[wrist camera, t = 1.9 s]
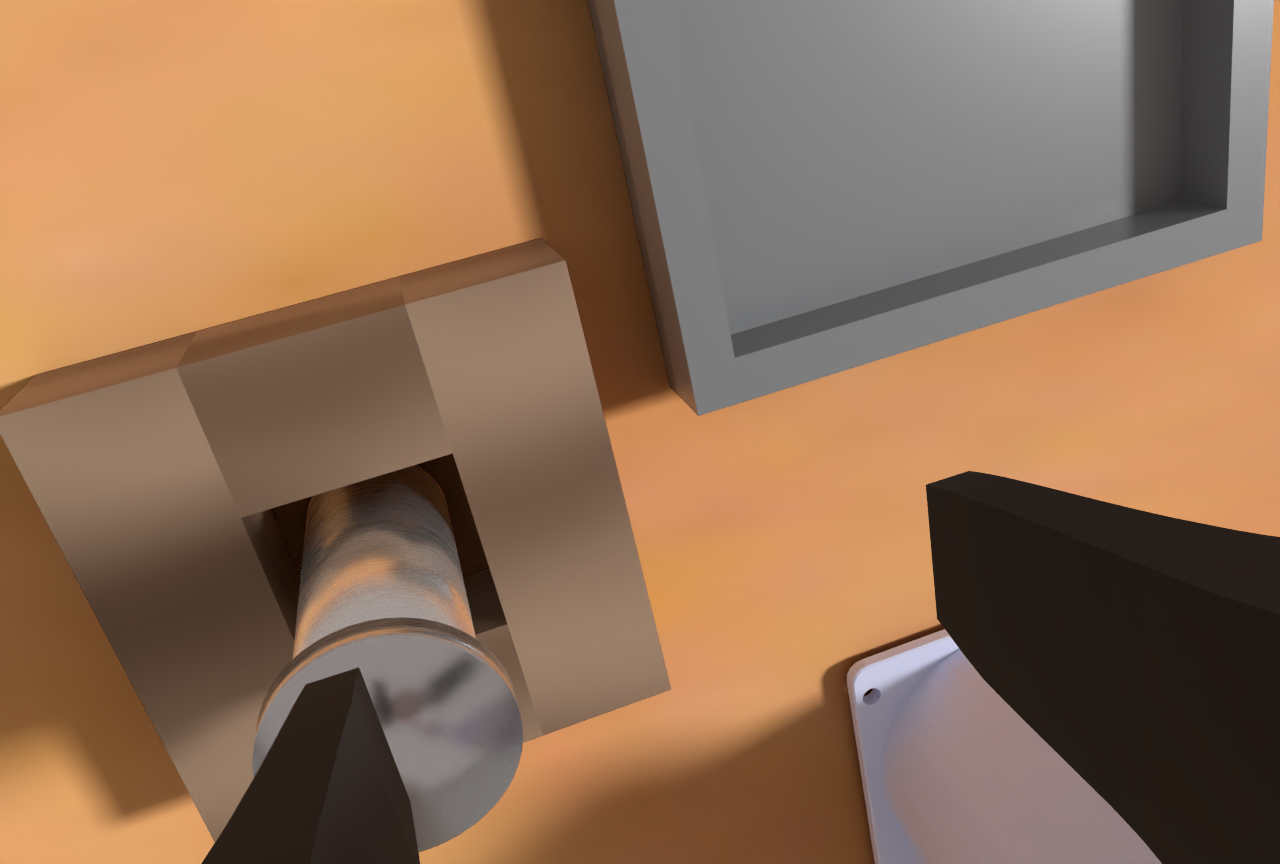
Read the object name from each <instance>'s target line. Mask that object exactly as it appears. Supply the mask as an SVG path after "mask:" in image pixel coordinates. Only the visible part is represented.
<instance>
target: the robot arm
mask: <svg viewBox="0 0 1280 864" xmlns="http://www.w3.org/2000/svg"><path fill="white" fill-rule="evenodd" d="M926 491H927V503H928V515H929V527H930V539H931V550H932V562H933V574H934V586H935V598H936V610H937V619H938V620H939V622H940V623H941V624H942V626H943V627H944V628H945V629H944V630H941V631H938V632H935V633H933V634H930V635H927V636H924V637H922V638H919V639H916V640H913V641H911V642H908V643H905V644H903V645H900V646H897V647H894V648H892V649H889V650H886V651H883V652H881V653H878V654H875V655H873V656H870V657H867V658H864V659H862V660H860V661H858V662H856V663H855V664H854V665H853V666H852V667H851V668H850V669H849V671H848V674H847V686H848V693H849V699H850V706H851V712H852V719H853V725H854V732H855V738H856V745H857V751H858V758H859V764H860V771H861V777H862V784H863V790H864V797H865V803H866V810H867V816H868V823H869V829H870V836H871V842H872V848H873V855H874V861H875V864H1280V537H1275V536H1267V535H1261V534H1255V533H1249V532H1243V531H1237V530H1232V529H1226V528H1221V527H1216V526H1211V525H1206V524H1201V523H1196V522H1191V521H1186V520H1181V519H1176V518H1171V517H1167V516H1163V515H1158V514H1154V513H1149V512H1145V511H1140V510H1136V509H1132V508H1128V507H1123V506H1119V505H1115V504H1111V503H1107V502H1103V501H1099V500H1095V499H1091V498H1087V497H1083V496H1079V495H1075V494H1071V493H1067V492H1063V491H1059V490H1055V489H1051V488H1047V487H1043V486H1039V485H1035V484H1031V483H1027V482H1023V481H1018V480H1014V479H1010V478H1005V477H1001V476H996V475H991V474H985V473H979V472H972V471H968V472H965V473H961V474H958V475H955V476H952V477H949V478H946V479H943V480H940V481H937V482H933V483H930V484H927V485H926ZM869 689H873V690H872V691H871V693H870V694H868V695H866V696H863V695H864V694H865V693H866V691H868V690H869ZM202 864H420V861H419V854H418V847H417V840H416V834H415V827H414V821H413V815H412V808H411V802H410V799H409V797H408V794H407V792H406V789H405V786H404V784H403V781H402V778H401V776H400V773H399V771H398V768H397V765H396V763H395V760H394V757H393V755H392V752H391V750H390V747H389V744H388V742H387V739H386V736H385V734H384V731H383V729H382V726H381V723H380V721H379V718H378V715H377V713H376V710H375V708H374V705H373V702H372V700H371V697H370V695H369V692H368V689H367V687H366V684H365V681H364V679H363V676H362V674H361V671H360V668H359V667H358V668H355V669H352V670H349V671H346V672H343V673H339V674H336V675H333V676H330V677H327V678H324V679H321V680H318V681H315V682H311V683H308V684H306V685H305V686H304V688H303V690H302V691H301V693H300V695H299V696H298V698H297V700H296V701H295V703H294V705H293V707H292V709H291V710H290V712H289V714H288V716H287V718H286V720H285V722H284V723H283V725H282V727H281V729H280V731H279V733H278V735H277V737H276V738H275V740H274V742H273V744H272V746H271V748H270V749H269V751H268V753H267V755H266V757H265V759H264V760H263V762H262V764H261V766H260V768H259V770H258V771H257V773H256V775H255V777H254V778H253V780H252V782H251V783H250V785H249V787H248V789H247V790H246V792H245V794H244V796H243V797H242V799H241V801H240V802H239V804H238V806H237V808H236V809H235V811H234V813H233V815H232V816H231V818H230V820H229V821H228V823H227V825H226V826H225V828H224V830H223V831H222V833H221V834H220V836H219V838H218V839H217V841H216V842H215V844H214V845H213V847H212V848H211V850H210V851H209V853H208V855H207V856H206V858H205V859H204V861H203V862H202Z"/></svg>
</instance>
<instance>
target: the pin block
mask: <svg viewBox="0 0 1280 864" xmlns="http://www.w3.org/2000/svg"><path fill="white" fill-rule="evenodd" d="M0 435H1V436H2V438H3V440H4V442H5V444H6V446H7V448H8V450H9V452H10V454H11V455H12V457H13V459H14V461H15V463H16V465H17V467H18V469H19V471H20V473H21V474H22V476H23V478H24V480H25V482H26V484H27V486H28V488H29V490H30V492H31V494H32V495H33V497H34V499H35V501H36V503H37V505H38V507H39V509H40V511H41V513H42V514H43V516H44V518H45V520H46V522H47V524H48V526H49V528H50V530H51V532H52V533H53V535H54V537H55V539H56V541H57V543H58V545H59V547H60V549H61V551H62V552H63V554H64V556H65V558H66V560H67V562H68V564H69V566H70V568H71V570H72V571H73V573H74V575H75V577H76V579H77V581H78V583H79V585H80V587H81V589H82V590H83V592H84V594H85V596H86V598H87V600H88V602H89V604H90V606H91V608H92V609H93V611H94V613H95V615H96V617H97V619H98V621H99V623H100V625H101V627H102V628H103V630H104V632H105V634H106V636H107V638H108V640H109V642H110V644H111V646H112V648H113V649H114V651H115V653H116V655H117V657H118V659H119V661H120V663H121V665H122V667H123V668H124V670H125V672H126V674H127V676H128V678H129V680H130V682H131V684H132V686H133V687H134V689H135V691H136V693H137V695H138V697H139V699H140V701H141V703H142V705H143V706H144V708H145V710H146V712H147V714H148V716H149V718H150V720H151V722H152V724H153V725H154V727H155V729H156V731H157V733H158V735H159V737H160V739H161V741H162V743H163V744H164V746H165V748H166V750H167V752H168V754H169V756H170V758H171V760H172V762H173V763H174V765H175V767H176V769H177V771H178V773H179V775H180V777H181V779H182V781H183V782H184V784H185V786H186V788H187V790H188V792H189V794H190V796H191V798H192V800H193V802H194V803H195V805H196V807H197V809H198V811H199V813H200V815H201V817H202V819H203V821H204V822H205V824H206V826H207V828H208V830H209V832H210V834H211V836H212V838H213V840H214V841H215V842H216V841H217V839H218V838H219V836H220V834H221V833H222V831H223V830H224V828H225V826H226V825H227V823H228V821H229V820H230V818H231V816H232V815H233V813H234V811H235V809H236V808H237V806H238V804H239V802H240V801H241V799H242V797H243V796H244V794H245V792H246V790H247V789H248V787H249V785H250V783H251V782H252V780H253V778H254V776H253V762H252V757H253V750H254V743H255V736H256V729H257V722H258V716H259V712H260V709H261V706H262V703H263V700H264V698H265V696H266V694H267V692H268V690H269V688H270V686H271V685H272V684H273V682H274V681H275V679H276V678H277V676H278V675H279V673H280V672H281V671H282V670H283V669H284V668H285V667H286V666H287V664H288V663H289V662H290V661H291V660H292V659H293V649H294V639H295V629H296V619H297V608H298V598H299V588H300V578H299V576H298V573H297V571H296V569H295V566H294V564H293V561H292V559H291V556H290V554H289V552H288V549H287V547H286V544H285V542H284V540H283V537H282V535H281V532H280V530H279V528H278V525H277V523H276V520H275V518H274V516H273V513H272V511H271V509H272V508H275V507H278V506H281V505H285V504H288V503H291V502H295V501H298V500H301V499H304V498H308V497H311V496H314V495H318V494H321V493H324V492H327V491H331V490H334V489H337V488H341V487H344V486H347V485H350V484H354V483H357V482H360V481H364V480H367V479H370V478H373V477H377V476H380V475H383V474H387V473H390V472H393V471H396V470H400V469H403V468H406V467H410V466H413V465H416V464H419V463H423V462H426V461H429V460H433V459H436V458H439V457H442V456H446V455H449V454H452V453H453V456H454V459H455V462H456V465H457V468H458V471H459V475H460V478H461V481H462V484H463V487H464V490H465V493H466V496H467V500H468V503H469V506H470V509H471V512H472V515H473V518H474V521H475V524H476V528H477V531H478V534H479V537H480V540H481V543H482V546H483V549H484V553H485V556H486V559H487V562H488V565H489V569H486V570H483V571H480V572H477V573H474V574H471V575H468V576H465V577H463V580H464V585H465V589H466V594H467V599H468V603H469V608H470V613H471V617H472V622H473V627H474V631H475V636H476V639H477V640H478V641H480V642H481V643H482V644H483V645H485V646H486V647H487V648H488V649H489V650H490V651H491V652H492V653H493V654H494V655H495V656H496V657H497V658H498V660H499V661H500V662H501V664H502V665H503V667H504V668H505V670H506V672H507V673H508V676H509V678H510V680H511V683H512V685H513V688H514V692H515V696H516V700H517V704H518V708H519V712H520V716H521V720H522V728H523V742H526V741H529V740H532V739H535V738H537V737H540V736H543V735H546V734H549V733H551V732H554V731H557V730H560V729H562V728H565V727H568V726H571V725H574V724H576V723H579V722H582V721H585V720H588V719H590V718H593V717H596V716H599V715H601V714H604V713H607V712H610V711H613V710H615V709H618V708H621V707H624V706H627V705H629V704H632V703H635V702H638V701H640V700H643V699H646V698H649V697H652V696H654V695H657V694H660V693H663V692H665V691H668V690H671V686H670V682H669V678H668V674H667V670H666V666H665V662H664V658H663V654H662V650H661V646H660V642H659V638H658V634H657V629H656V625H655V621H654V617H653V613H652V609H651V605H650V601H649V597H648V593H647V589H646V585H645V581H644V577H643V573H642V569H641V565H640V560H639V556H638V552H637V548H636V544H635V540H634V536H633V532H632V528H631V524H630V520H629V516H628V512H627V508H626V504H625V500H624V496H623V491H622V487H621V483H620V479H619V475H618V471H617V467H616V463H615V459H614V455H613V451H612V447H611V443H610V439H609V435H608V431H607V426H606V422H605V418H604V414H603V410H602V406H601V402H600V398H599V394H598V390H597V386H596V382H595V378H594V374H593V370H592V366H591V362H590V357H589V353H588V349H587V345H586V341H585V337H584V333H583V329H582V325H581V321H580V317H579V313H578V309H577V305H576V301H575V297H574V293H573V288H572V284H571V280H570V276H569V272H568V268H567V264H566V260H565V259H564V258H563V257H561V256H560V255H559V254H558V253H557V252H556V251H555V250H554V249H553V248H552V247H551V246H550V245H549V244H548V243H547V242H546V241H544V240H543V239H542V238H539V239H536V240H532V241H528V242H525V243H521V244H517V245H514V246H510V247H506V248H503V249H499V250H495V251H492V252H488V253H484V254H480V255H477V256H473V257H469V258H466V259H462V260H458V261H455V262H451V263H447V264H444V265H440V266H436V267H432V268H429V269H425V270H421V271H418V272H414V273H410V274H407V275H403V276H399V277H396V278H392V279H388V280H385V281H381V282H377V283H373V284H370V285H366V286H362V287H359V288H355V289H351V290H348V291H344V292H340V293H337V294H333V295H329V296H325V297H322V298H318V299H314V300H311V301H307V302H303V303H300V304H296V305H292V306H289V307H285V308H281V309H277V310H274V311H270V312H266V313H263V314H259V315H255V316H252V317H248V318H244V319H241V320H237V321H233V322H230V323H226V324H222V325H218V326H215V327H211V328H207V329H204V330H200V331H196V332H193V333H189V334H185V335H182V336H178V337H174V338H170V339H167V340H163V341H159V342H156V343H152V344H148V345H145V346H141V347H137V348H134V349H130V350H126V351H123V352H119V353H115V354H111V355H108V356H104V357H100V358H97V359H93V360H89V361H86V362H82V363H78V364H75V365H71V366H67V367H63V368H60V369H56V370H52V371H49V372H45V373H41V374H38V375H35V376H34V377H33V378H32V379H31V380H30V381H29V382H28V383H27V384H26V385H25V386H24V387H23V388H22V389H21V390H20V391H19V392H18V393H17V394H16V395H15V396H14V397H13V398H12V399H11V400H10V401H9V402H8V403H7V404H6V405H5V406H4V407H3V408H2V409H1V410H0Z"/></svg>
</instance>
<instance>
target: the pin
mask: <svg viewBox="0 0 1280 864" xmlns="http://www.w3.org/2000/svg"><path fill="white" fill-rule="evenodd" d="M358 667H359V668H360V671H361V674H362V676H363V679H364V681H365V684H366V687H367V689H368V692H369V695H370V697H371V700H372V702H373V705H374V708H375V710H376V713H377V715H378V718H379V721H380V723H381V726H382V729H383V731H384V734H385V736H386V739H387V742H388V744H389V747H390V750H391V752H392V755H393V757H394V760H395V763H396V765H397V768H398V771H399V773H400V776H401V778H402V781H403V784H404V786H405V789H406V792H407V794H408V797H409V799H410V802H411V808H412V815H413V821H414V827H415V834H416V840H417V847H418V852H421V851H424V850H427V849H430V848H433V847H435V846H438V845H440V844H442V843H445V842H447V841H449V840H450V839H452V838H454V837H456V836H458V835H460V834H461V833H463V832H464V831H466V830H467V829H468V828H470V827H471V826H473V825H474V824H475V823H477V822H478V821H479V820H480V819H481V818H482V817H484V816H485V815H486V814H487V813H488V812H489V811H490V810H491V809H492V808H493V807H494V805H495V804H496V803H497V802H498V801H499V799H500V798H501V797H502V795H503V794H504V793H505V791H506V790H507V788H508V786H509V784H510V783H511V781H512V779H513V777H514V775H515V772H516V769H517V767H518V764H519V760H520V756H521V752H522V743H523V728H522V720H521V716H520V712H519V708H518V704H517V700H516V696H515V692H514V688H513V685H512V683H511V680H510V678H509V676H508V673H507V672H506V670H505V668H504V667H503V665H502V664H501V662H500V661H499V660H498V658H497V657H496V656H495V655H494V654H493V653H492V652H491V651H490V650H489V649H488V648H487V647H486V646H485V645H483V644H482V643H481V642H480V641H478V640H477V639H476V636H475V631H474V627H473V622H472V617H471V613H470V608H469V603H468V599H467V594H466V589H465V585H464V580H463V575H462V571H461V566H460V562H459V557H458V552H457V548H456V543H455V538H454V534H453V529H452V524H451V520H450V515H449V510H448V506H447V502H446V498H445V496H444V493H443V491H442V489H441V488H440V486H439V484H438V483H437V482H436V480H435V479H434V478H433V477H432V476H431V475H430V474H429V473H428V472H427V471H425V470H424V469H422V468H421V467H420V466H418V465H413V466H410V467H406V468H403V469H400V470H396V471H393V472H390V473H387V474H383V475H380V476H377V477H373V478H370V479H367V480H364V481H360V482H357V483H354V484H350V485H347V486H344V487H341V488H337V489H334V490H331V491H327V492H324V493H321V494H318V495H314V496H312V497H311V499H310V502H309V506H308V510H307V517H306V527H305V537H304V547H303V558H302V568H301V578H300V588H299V598H298V608H297V619H296V629H295V639H294V649H293V659H292V660H291V661H290V662H289V663H288V664H287V666H286V667H285V668H284V669H283V670H282V671H281V672H280V673H279V675H278V676H277V678H276V679H275V681H274V682H273V684H272V685H271V686H270V688H269V690H268V692H267V694H266V696H265V698H264V700H263V703H262V706H261V709H260V712H259V716H258V722H257V729H256V736H255V743H254V750H253V757H252V762H253V776H254V777H255V775H256V773H257V771H258V770H259V768H260V766H261V764H262V762H263V760H264V759H265V757H266V755H267V753H268V751H269V749H270V748H271V746H272V744H273V742H274V740H275V738H276V737H277V735H278V733H279V731H280V729H281V727H282V725H283V723H284V722H285V720H286V718H287V716H288V714H289V712H290V710H291V709H292V707H293V705H294V703H295V701H296V700H297V698H298V696H299V695H300V693H301V691H302V690H303V688H304V686H305V685H306V684H308V683H311V682H315V681H318V680H321V679H324V678H327V677H330V676H333V675H336V674H339V673H343V672H346V671H349V670H352V669H355V668H358Z"/></svg>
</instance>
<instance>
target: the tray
mask: <svg viewBox="0 0 1280 864" xmlns="http://www.w3.org/2000/svg"><path fill="white" fill-rule="evenodd" d="M588 4H589V9H590V13H591V18H592V23H593V28H594V32H595V37H596V42H597V46H598V51H599V56H600V60H601V65H602V70H603V74H604V79H605V84H606V88H607V93H608V98H609V103H610V107H611V112H612V117H613V121H614V126H615V131H616V135H617V140H618V145H619V149H620V154H621V159H622V164H623V168H624V173H625V178H626V182H627V187H628V192H629V196H630V201H631V206H632V210H633V215H634V220H635V224H636V229H637V234H638V239H639V243H640V248H641V253H642V257H643V262H644V267H645V271H646V276H647V281H648V285H649V290H650V295H651V299H652V304H653V309H654V314H655V318H656V323H657V328H658V332H659V337H660V342H661V346H662V351H663V356H664V360H665V365H666V370H667V374H668V379H669V384H670V387H671V388H672V389H673V390H674V391H675V392H676V393H677V394H678V395H679V396H680V397H681V399H682V400H683V401H684V402H685V403H686V404H687V405H688V406H689V407H690V408H691V409H692V410H693V411H694V412H695V413H696V414H697V415H698V416H700V415H703V414H706V413H709V412H712V411H716V410H719V409H722V408H725V407H728V406H732V405H735V404H738V403H741V402H745V401H748V400H751V399H754V398H757V397H761V396H764V395H767V394H770V393H773V392H777V391H780V390H783V389H786V388H790V387H793V386H796V385H799V384H802V383H806V382H809V381H812V380H815V379H818V378H822V377H825V376H828V375H831V374H835V373H838V372H841V371H844V370H847V369H851V368H854V367H857V366H860V365H863V364H867V363H870V362H873V361H876V360H880V359H883V358H886V357H889V356H892V355H896V354H899V353H902V352H905V351H908V350H912V349H915V348H918V347H921V346H925V345H928V344H931V343H934V342H937V341H941V340H944V339H947V338H950V337H953V336H957V335H960V334H963V333H966V332H970V331H973V330H976V329H979V328H982V327H986V326H989V325H992V324H995V323H998V322H1002V321H1005V320H1008V319H1011V318H1015V317H1018V316H1021V315H1024V314H1027V313H1031V312H1034V311H1037V310H1040V309H1043V308H1047V307H1050V306H1053V305H1056V304H1060V303H1063V302H1066V301H1069V300H1072V299H1076V298H1079V297H1082V296H1085V295H1088V294H1092V293H1095V292H1098V291H1101V290H1105V289H1108V288H1111V287H1114V286H1117V285H1121V284H1124V283H1127V282H1130V281H1133V280H1137V279H1140V278H1143V277H1146V276H1150V275H1153V274H1156V273H1159V272H1162V271H1166V270H1169V269H1172V268H1175V267H1178V266H1182V265H1185V264H1188V263H1191V262H1195V261H1198V260H1201V259H1204V258H1207V257H1211V256H1214V255H1217V254H1220V253H1223V252H1227V251H1230V250H1233V249H1236V248H1240V247H1243V246H1246V245H1249V244H1252V243H1256V242H1259V241H1262V227H1263V206H1264V186H1265V166H1266V146H1267V126H1268V106H1269V86H1270V66H1271V46H1272V25H1273V5H1274V0H588Z"/></svg>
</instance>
